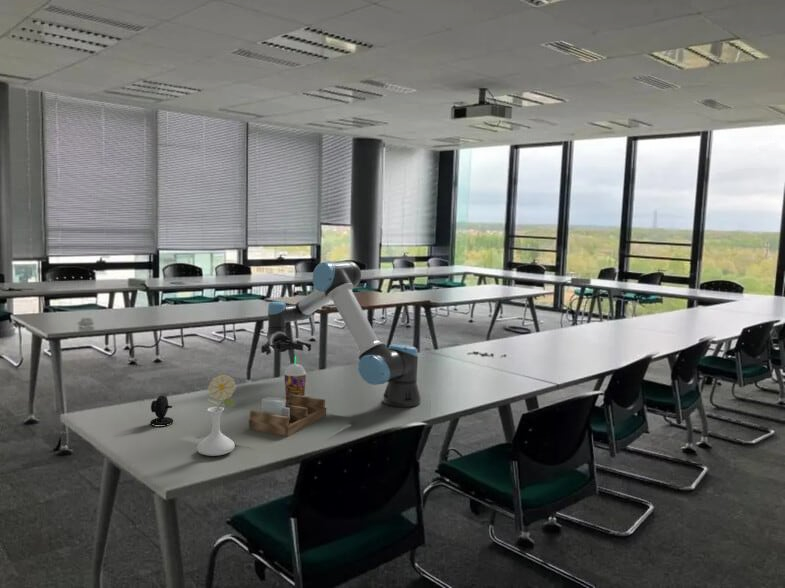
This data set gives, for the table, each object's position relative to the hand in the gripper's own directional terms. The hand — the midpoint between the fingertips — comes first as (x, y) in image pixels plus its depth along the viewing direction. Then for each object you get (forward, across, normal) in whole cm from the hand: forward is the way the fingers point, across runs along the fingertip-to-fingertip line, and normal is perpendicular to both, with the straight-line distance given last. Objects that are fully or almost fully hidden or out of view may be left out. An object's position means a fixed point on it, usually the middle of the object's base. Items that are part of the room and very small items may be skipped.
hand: (290, 352), depth 246 cm
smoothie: (+10, 0, -20) cm, 22 cm away
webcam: (+16, +48, -20) cm, 54 cm away
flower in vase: (+49, +32, -20) cm, 61 cm away
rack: (+30, +6, -19) cm, 37 cm away
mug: (+33, +11, -18) cm, 39 cm away
